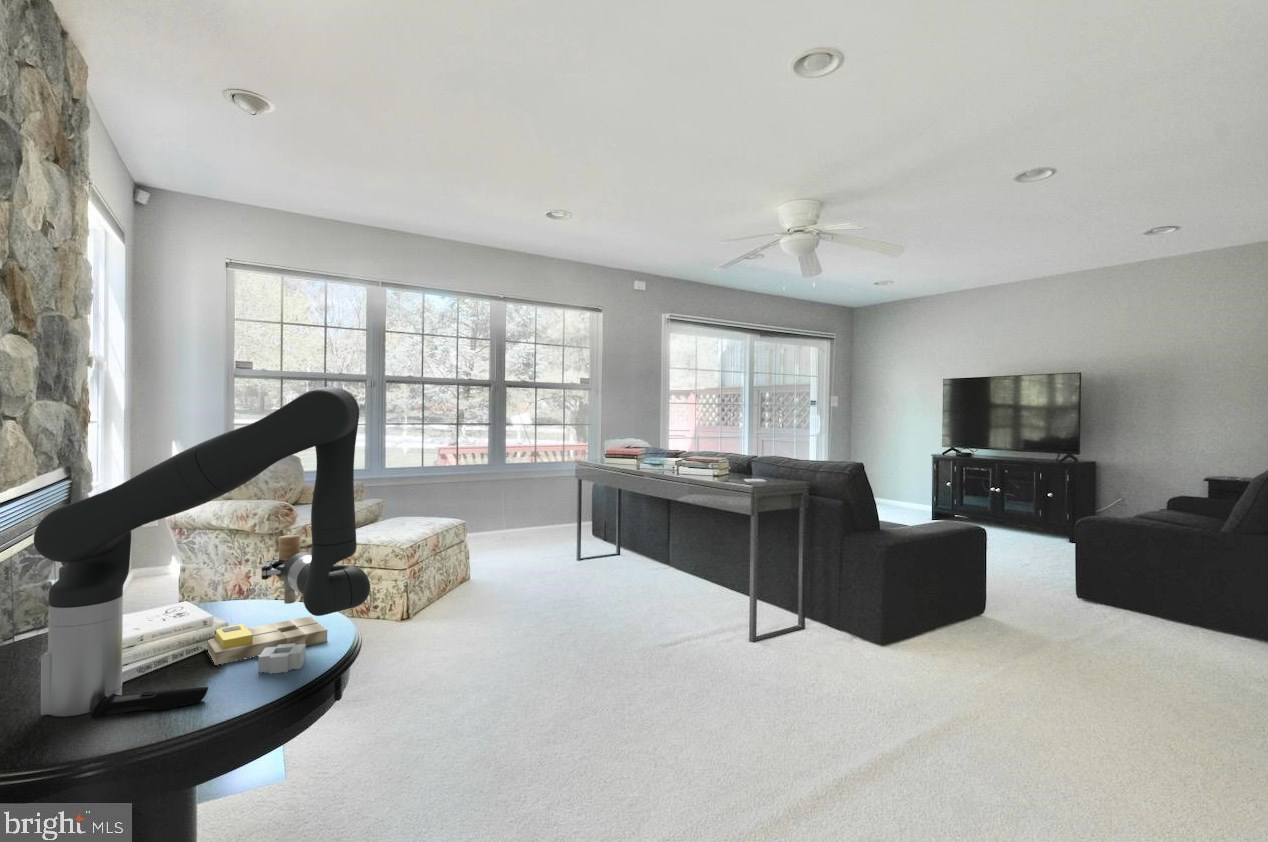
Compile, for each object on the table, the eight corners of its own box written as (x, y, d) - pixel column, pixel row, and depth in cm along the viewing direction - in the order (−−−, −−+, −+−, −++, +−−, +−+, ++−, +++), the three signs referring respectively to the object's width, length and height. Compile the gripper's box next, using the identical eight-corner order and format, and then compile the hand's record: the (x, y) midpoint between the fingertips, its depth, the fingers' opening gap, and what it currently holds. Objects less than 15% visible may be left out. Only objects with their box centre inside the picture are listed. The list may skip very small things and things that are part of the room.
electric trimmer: (203, 710, 103) (203, 690, 103) (88, 721, 98) (89, 701, 98) (211, 700, 106) (211, 681, 106) (101, 710, 102) (101, 691, 102)
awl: (281, 606, 131) (281, 539, 131) (276, 602, 134) (276, 536, 134) (302, 602, 134) (302, 536, 134) (297, 598, 137) (297, 534, 137)
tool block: (256, 675, 116) (257, 658, 116) (266, 661, 122) (266, 645, 122) (299, 670, 118) (299, 654, 118) (306, 657, 124) (306, 642, 124)
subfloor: (215, 665, 120) (215, 652, 120) (204, 648, 129) (204, 636, 129) (327, 641, 133) (327, 629, 133) (310, 627, 142) (310, 616, 142)
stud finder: (223, 648, 122) (223, 639, 122) (214, 636, 129) (214, 628, 129) (252, 642, 125) (252, 634, 125) (242, 631, 132) (242, 623, 132)
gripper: (347, 550, 128) (321, 538, 141) (268, 560, 118) (248, 547, 131) (347, 587, 128) (321, 572, 141) (268, 600, 118) (248, 583, 131)
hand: (286, 560), depth 136 cm, fingers closed on awl, 4 cm apart
